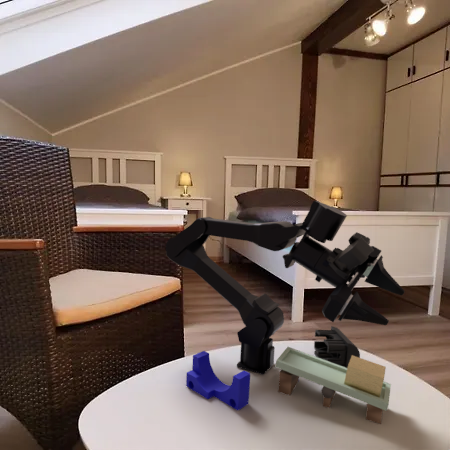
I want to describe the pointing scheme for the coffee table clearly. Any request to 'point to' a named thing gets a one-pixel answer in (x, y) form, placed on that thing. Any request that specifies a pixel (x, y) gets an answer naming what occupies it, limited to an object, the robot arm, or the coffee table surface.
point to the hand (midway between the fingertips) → (395, 307)
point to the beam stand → (290, 381)
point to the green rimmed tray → (328, 376)
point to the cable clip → (217, 383)
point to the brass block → (365, 376)
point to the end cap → (335, 347)
